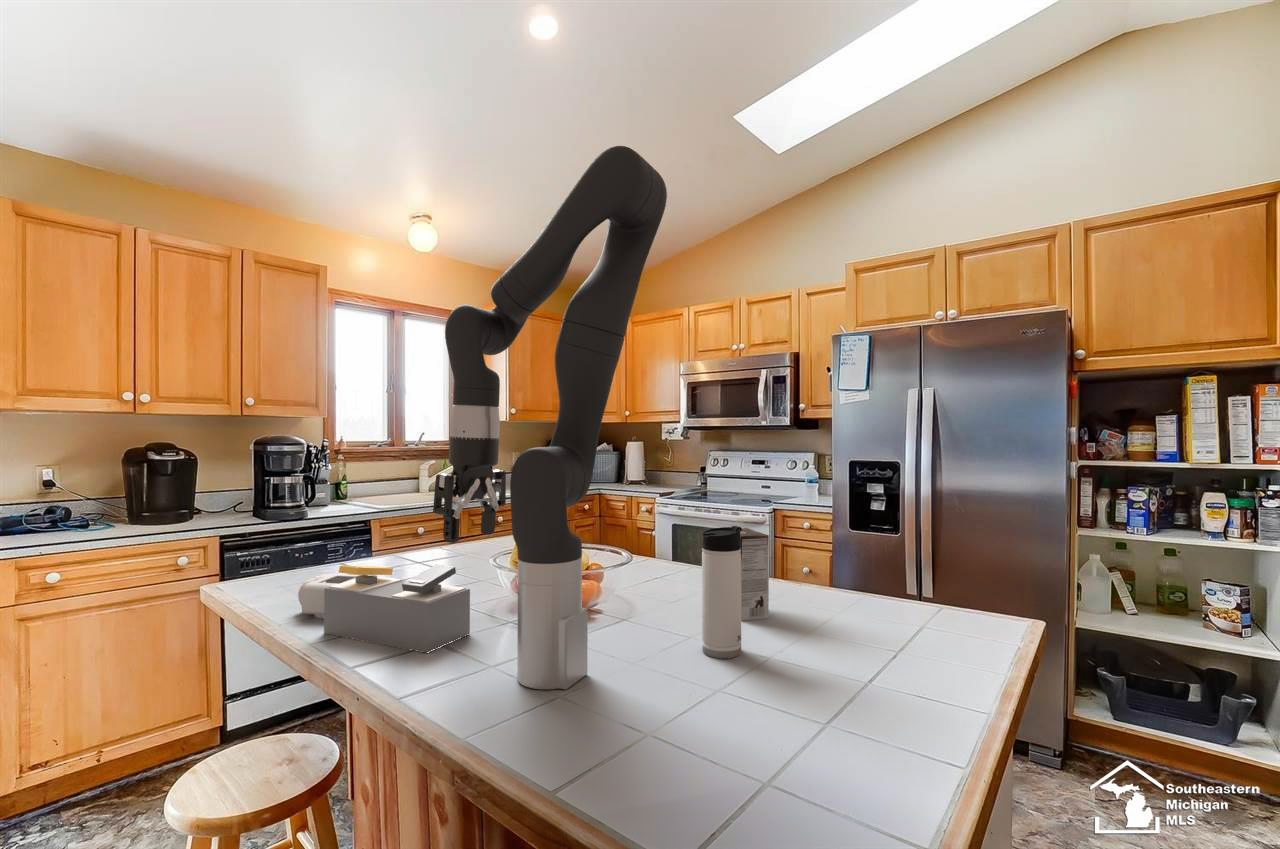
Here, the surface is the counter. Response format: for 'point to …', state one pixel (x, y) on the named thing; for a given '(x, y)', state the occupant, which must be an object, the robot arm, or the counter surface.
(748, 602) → the coffee box
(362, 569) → the amber rocker
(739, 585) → the travel mug
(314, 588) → the cable organizer
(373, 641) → the grey switch box
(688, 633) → the counter surface
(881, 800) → the counter surface
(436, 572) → the black rocker
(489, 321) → the robot arm
